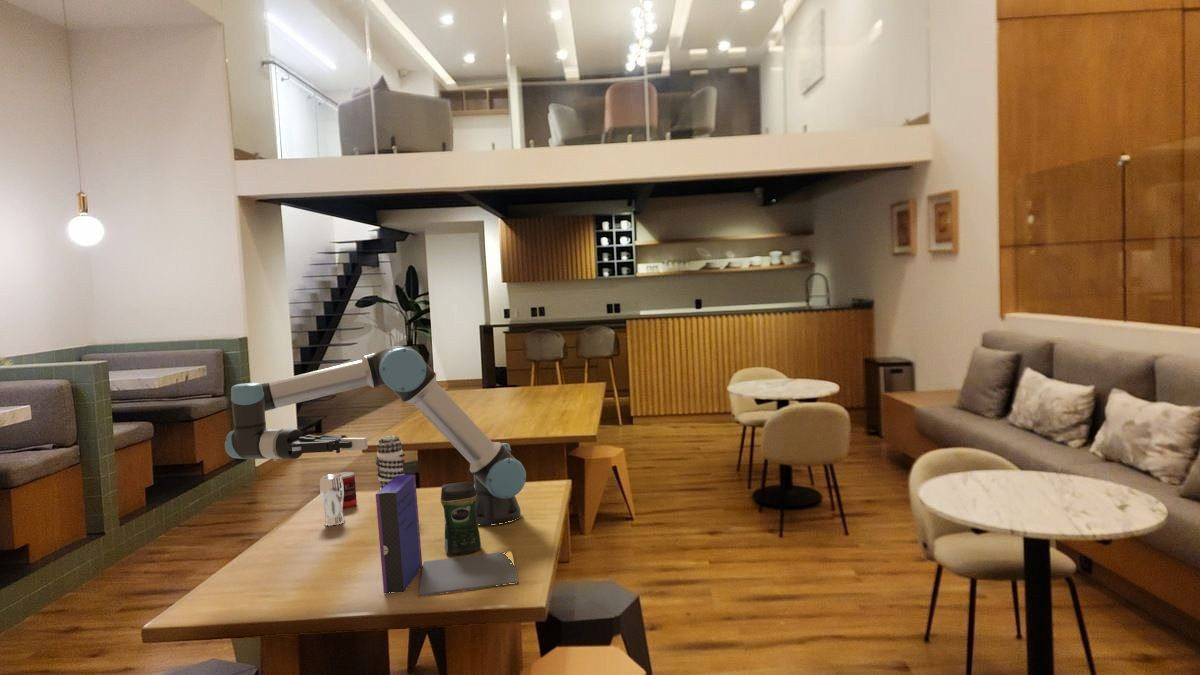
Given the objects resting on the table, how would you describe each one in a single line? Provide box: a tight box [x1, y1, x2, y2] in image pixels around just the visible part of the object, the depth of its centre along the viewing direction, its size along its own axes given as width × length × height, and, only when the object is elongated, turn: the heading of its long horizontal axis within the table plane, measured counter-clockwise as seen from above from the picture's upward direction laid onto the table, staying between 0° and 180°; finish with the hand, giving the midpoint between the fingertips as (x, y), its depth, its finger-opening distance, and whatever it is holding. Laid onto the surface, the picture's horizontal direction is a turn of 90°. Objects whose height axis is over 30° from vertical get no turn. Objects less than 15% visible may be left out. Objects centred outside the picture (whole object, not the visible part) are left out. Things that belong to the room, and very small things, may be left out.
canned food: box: [335, 471, 358, 510], centre depth 256 cm, size 8×8×11 cm
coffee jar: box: [440, 480, 482, 556], centre depth 203 cm, size 10×8×19 cm
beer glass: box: [319, 473, 346, 527], centre depth 236 cm, size 7×7×15 cm
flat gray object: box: [417, 551, 519, 597], centre depth 186 cm, size 23×22×1 cm
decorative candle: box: [375, 435, 406, 491], centre depth 243 cm, size 9×9×25 cm
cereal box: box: [375, 474, 423, 594], centre depth 184 cm, size 17×5×24 cm, turn 179°
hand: (365, 443), depth 185 cm, fingers closed
